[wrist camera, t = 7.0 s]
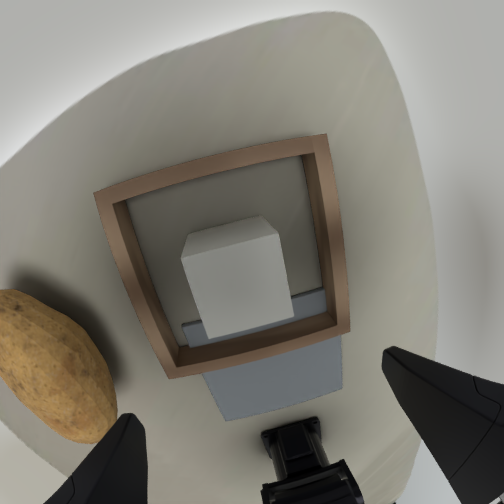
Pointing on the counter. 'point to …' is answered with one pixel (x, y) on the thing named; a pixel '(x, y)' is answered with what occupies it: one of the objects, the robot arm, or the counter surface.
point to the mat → (274, 367)
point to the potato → (55, 369)
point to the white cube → (237, 276)
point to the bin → (257, 343)
